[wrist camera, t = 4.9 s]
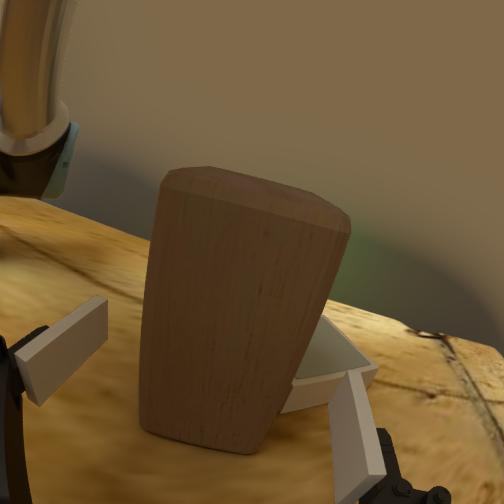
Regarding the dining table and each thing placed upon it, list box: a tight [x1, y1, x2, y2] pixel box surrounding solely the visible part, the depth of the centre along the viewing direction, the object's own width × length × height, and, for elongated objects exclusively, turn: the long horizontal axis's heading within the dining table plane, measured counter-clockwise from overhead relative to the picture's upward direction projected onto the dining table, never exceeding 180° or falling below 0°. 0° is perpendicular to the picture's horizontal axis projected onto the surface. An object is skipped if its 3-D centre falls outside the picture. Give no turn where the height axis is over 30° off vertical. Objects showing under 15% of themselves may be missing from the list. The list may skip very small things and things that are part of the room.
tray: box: [278, 315, 379, 414], centre depth 32 cm, size 12×12×4 cm
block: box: [139, 166, 351, 455], centre depth 21 cm, size 10×10×20 cm
